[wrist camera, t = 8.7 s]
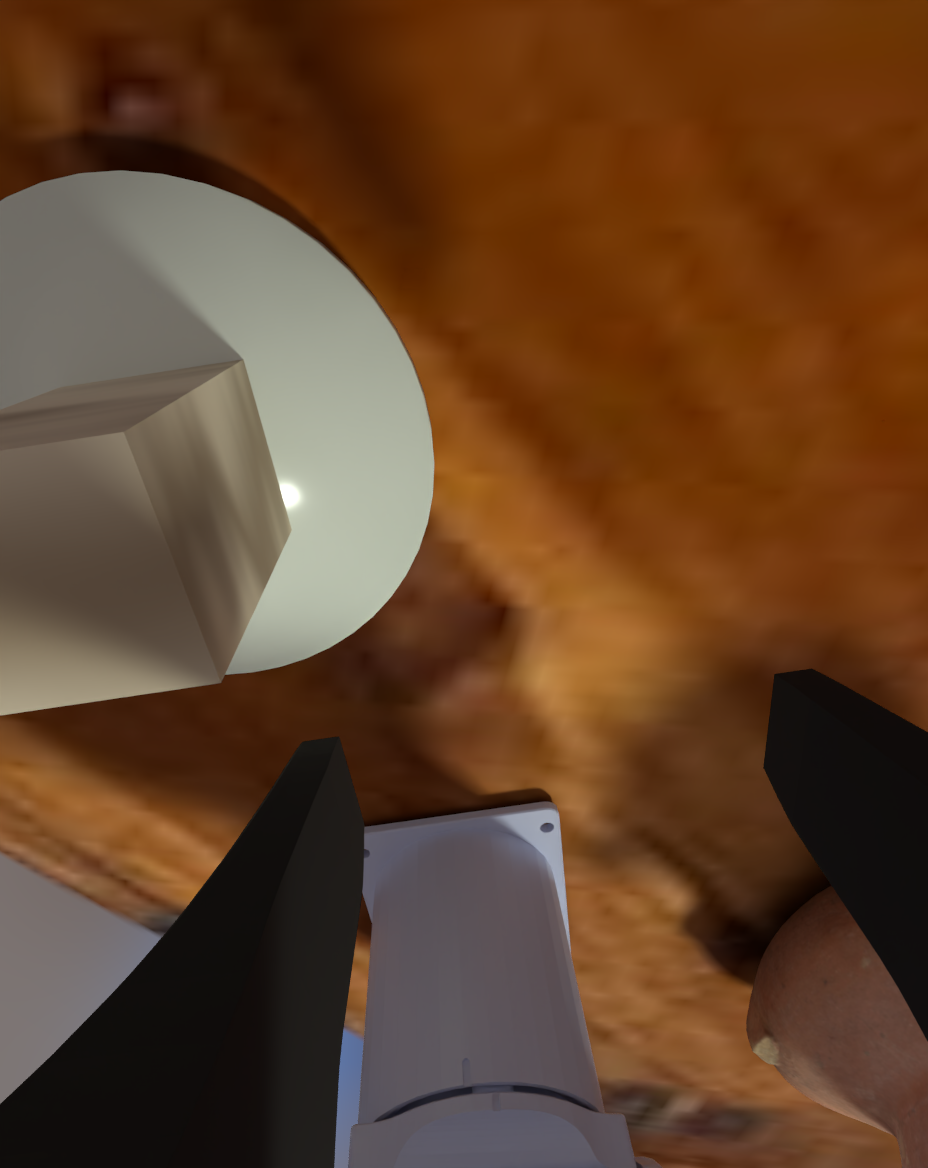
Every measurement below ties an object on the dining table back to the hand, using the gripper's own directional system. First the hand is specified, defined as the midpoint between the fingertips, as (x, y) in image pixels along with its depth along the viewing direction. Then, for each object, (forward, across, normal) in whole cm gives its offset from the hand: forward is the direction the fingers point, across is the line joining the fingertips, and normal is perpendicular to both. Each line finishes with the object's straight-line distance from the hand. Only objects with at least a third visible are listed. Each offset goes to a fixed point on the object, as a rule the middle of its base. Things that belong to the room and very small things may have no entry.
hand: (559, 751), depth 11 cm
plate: (+9, +8, -4) cm, 13 cm away
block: (+8, +8, -4) cm, 12 cm away
